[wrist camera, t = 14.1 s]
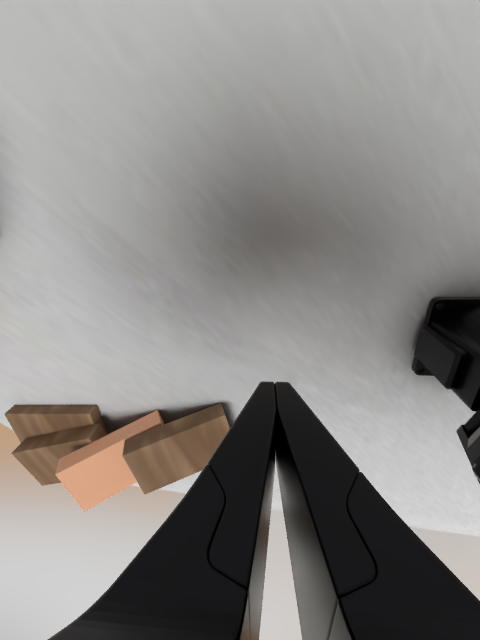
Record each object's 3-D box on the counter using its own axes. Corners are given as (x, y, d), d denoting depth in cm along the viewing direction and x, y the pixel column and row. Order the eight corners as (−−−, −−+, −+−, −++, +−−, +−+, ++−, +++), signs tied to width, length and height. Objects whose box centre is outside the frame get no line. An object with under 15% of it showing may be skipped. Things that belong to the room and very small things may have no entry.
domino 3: (175, 445, 28) (86, 494, 26) (157, 409, 26) (59, 458, 24) (179, 457, 27) (84, 511, 24) (160, 420, 25) (55, 474, 22)
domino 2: (88, 438, 24) (11, 453, 26) (115, 474, 26) (42, 485, 28) (99, 423, 26) (26, 437, 28) (124, 457, 28) (54, 469, 30)
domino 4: (225, 414, 24) (122, 455, 22) (238, 454, 26) (144, 494, 24) (220, 402, 25) (124, 439, 24) (233, 440, 27) (145, 477, 26)
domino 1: (89, 414, 26) (4, 413, 27) (104, 450, 28) (24, 449, 29) (100, 400, 27) (19, 401, 28) (113, 436, 29) (37, 435, 30)
